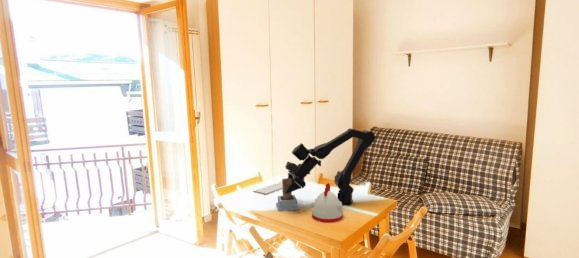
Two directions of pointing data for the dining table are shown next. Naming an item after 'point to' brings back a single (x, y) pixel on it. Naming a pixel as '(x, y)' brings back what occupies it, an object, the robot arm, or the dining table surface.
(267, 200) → the dining table surface
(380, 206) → the dining table surface
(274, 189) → the baseboard molding
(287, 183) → the brown wooden block
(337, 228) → the dining table surface
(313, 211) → the kitchen timer
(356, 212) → the dining table surface
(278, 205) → the end cap
